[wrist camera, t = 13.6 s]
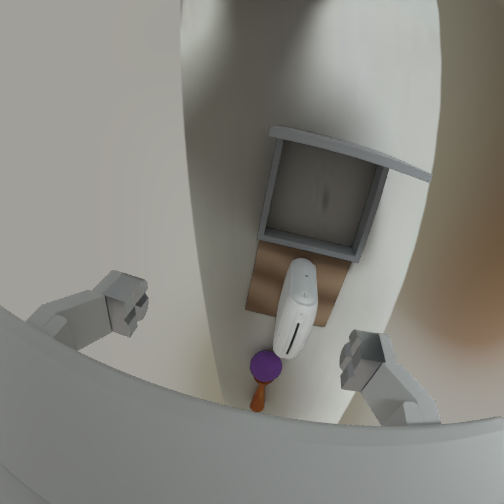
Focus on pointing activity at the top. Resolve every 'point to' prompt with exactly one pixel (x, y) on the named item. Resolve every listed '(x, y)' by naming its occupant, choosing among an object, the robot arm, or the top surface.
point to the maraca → (263, 375)
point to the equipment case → (371, 205)
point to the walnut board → (274, 272)
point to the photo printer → (296, 309)
